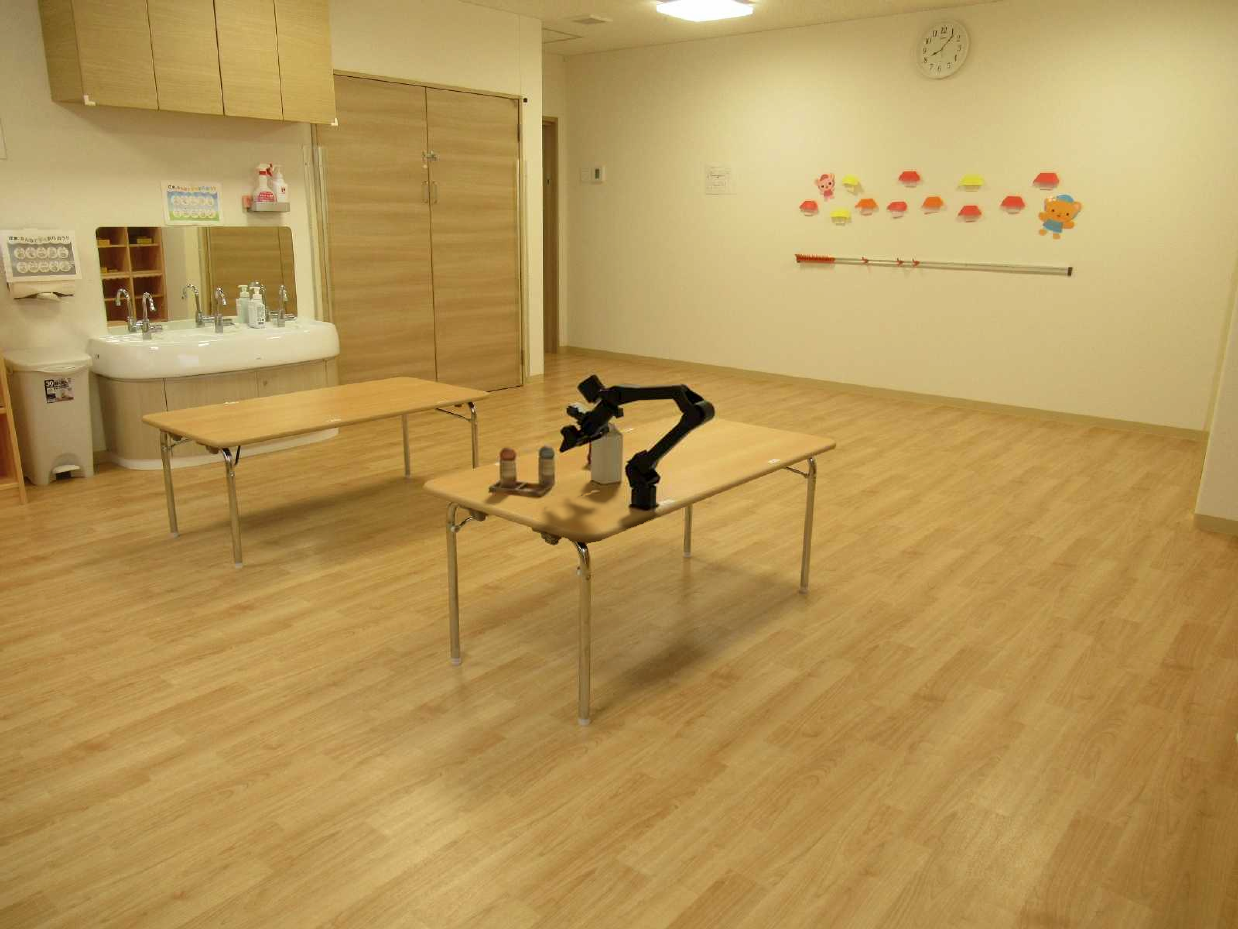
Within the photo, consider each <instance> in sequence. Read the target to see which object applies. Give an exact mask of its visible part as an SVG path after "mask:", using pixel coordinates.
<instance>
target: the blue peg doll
mask: <svg viewBox="0 0 1238 929" xmlns="http://www.w3.org/2000/svg"><path fill="white" fill-rule="evenodd" d="M555 454H556V453H555V450H554V448H553V447H552V446H549V445H543V446H542V447H540V449H539V450H538V458H537V460H538V462H537V463H538V465H537V466H538V468H537V469H538V470H537V471H538V474H537V475H538V477H537V478H538V480H537V483H538V484H547V485H552V486H554V485H555V484H556V481H555V479H556V471H555V470H556V457H555Z"/></svg>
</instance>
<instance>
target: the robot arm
mask: <svg viewBox="0 0 1238 929" xmlns="http://www.w3.org/2000/svg"><path fill="white" fill-rule="evenodd" d="M576 389H577V390H578V391H579V393H580V395H581V396H582V397H583V398H584V399H585V400H586V402H587V403H588V404H593V405H595V406H594V408H592V410H590V408H589V407H587V406H585V405H584V404H582V403H581V402H579V401H576V402H572V403H570V404H569V405H568V407H566V408H565V410H566V411H565V413H566V415H567V416H570V417H571V418H574V419H575V420H576V422H575V423H576V424H577V426H579V429H578V428H577V427H576V426H575V425H574V424H568V425H565V426H563V427H562V428H561V429H560V430H559V433H560V435H562V437H563V440H562V442H561V445H560V447H559V449H558V451H559V453H560V454H562V453H565V452H567V451H570V450H573V449H575V448H577V447H578V448H579V447H582V446H585V445H587V444H589V443H590V442H592V441H595V440H597V439H600V438H602V437H604V436H606V435H607V434H608V433H609V427H608V422H610V421H611V419H613V417H614V418H616V419H620V418H623V417H625V413H624V407H620V406H622V405H625V404H630V403H634V402H639V401H656V400H657V401H659V400H660V401H662V400H663V401H664V400H672V401H674V402H675V403H676V406H677V407H678V409H679V412H681V413H682V414H681V417H680V419H679V422H678V423H677V424H676V425H675V426H674V427H672V428H671V430H669V431H668V432H667V433H666V434H665V435H664V436H663V437H662V438H660V439H659V441H657V443H656V444H655V445H653V446H652V447H651V448H650V449H649V450H647V449H643V450H641V451H639V452H635V454H634V455H633V456H632V457H631V458H630V459H629V460H627V461H626V463H627V464H626V465H625V466H624V472H625V476H626V477H627V481H628V484H629V487H630V488H631V490H630V503H629V504H628V507H631V508H634V507H635V508H636V509H639V510H643V511H650V510H652V509H653V508H654V509H655V508H656V507H659V506H660V503H657V488H658V486H657V485H658V484H660V481H661V478H662V476H661V475H660V474H659V473H658V472H657V471H656V468H657V467H658V465H659V463H660V461H661V460H662V459H663V458H664V457H665V456H666V455H667V454H668V453H669V452H671V451H672V450H673V449H674V448H675V447H676V446H677V445H678V444H679V443H680V442H682V440H684V439H685V438H686V437H687V436H688V435H689V434H690V433H691V432H693V431H694V430H696V429H698V428H700V427H702V426H704V425H705V424H707V423H708V422H710V421H712V420H713V419H714V418H715V416H716V409H715V407H714V405H713V403H711V401H708V400H706V399H705V398H703V396H701V395H700V394H698V393H697V392H695V391H693V390H692V389H690V387H689V386H688V385H686V384H685V383H677V384H661V385H644V386H643V385H639V384H636V383H629V382H623V383H619V384H615V385H611V386H609V387H606V386H605V385H604V384H603V383H602V382H601V380H600V378H599V377H598V376H597V374H596V373H595V374H592V375H590V376H589V377H587V378H585V379H584V380H582V381H581V382H580V383H579V384H578V385H577V387H576ZM601 432H602V434H601Z"/></svg>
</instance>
